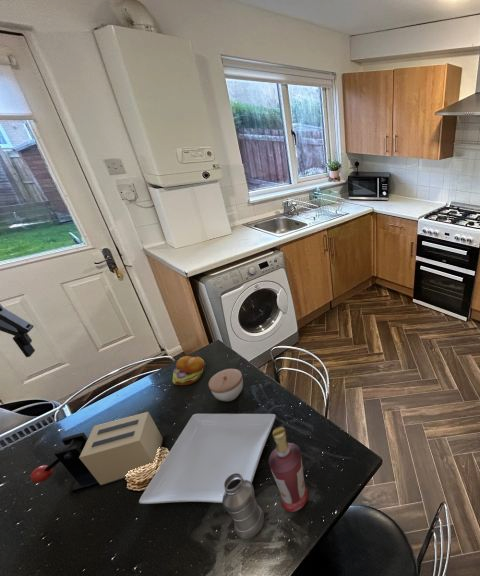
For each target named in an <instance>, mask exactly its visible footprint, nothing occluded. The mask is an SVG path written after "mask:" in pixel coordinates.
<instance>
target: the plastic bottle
mask: <svg viewBox="0 0 480 576" xmlns="http://www.w3.org/2000/svg"><path fill="white" fill-rule="evenodd" d="M224 488H225V492H224V494H223V500H222V503H221V504H222V507H223V508H224V510H225V511H226V512H227V513H228V514H229V515H230V517H231V518H232V520H233V524H234V531H235V533H236V536H237V537H239V538H240V539H242V540H249V539H251V538H254V537H255V536H256V535H257V534H258V533H259V532H260V531H261V530H262V528H263V527H264V526H263V525H264V523H265V512H264V510H263V509H262V507H260V505H259V504H258V502H257V501H256V496H255V495H256V494H255V489H254V485H253V482H252V483H251V482H250V481H248V480H246V479H243V478H242V475H241V474H239V473H234V474H231V475H230V476H229V477H228V478H227V479H226V480H225V482H224Z"/></svg>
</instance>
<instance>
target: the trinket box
mask: <svg viewBox="0 0 480 576" xmlns="http://www.w3.org/2000/svg"><path fill="white" fill-rule="evenodd" d="M242 374H243V373H242V372H241V370H239V369H236V368H226V369H223V370H220V371H218V372H216V374H214V375H212V376H211V378H210V379H209V381H208V388H209V390H210V392H211V394H212V396H213V397H214V398H215V399H217V400H218V401H221V402H231V401H234V400H235V399H237V398H238V397H239V395H241V393H242V391H243V388H244V380H243V379H244V378H243V375H242Z"/></svg>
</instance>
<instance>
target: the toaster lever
mask: <svg viewBox="0 0 480 576" xmlns="http://www.w3.org/2000/svg"><path fill="white" fill-rule="evenodd" d="M82 443H83V441H79V440H75V439H73V440H71V441H70V442H69V443H68V444H67V445H66V446H65V445H64V448H63V449H65V448H68V447H72V446H76V445H78V447H79V448H80V447H81V445H82ZM59 463H61V462H60V461H59V459H58V458H57V457H56V458H54V459H53V460H52V461H51V462H50V463H48V464H42V465H40V466H38V467H36V468H35V469H33V470H32V472H31V473H30V480H31V482H33V483H38V484H39V483H42V482H45V481H47V480H48V479H50V477H51V476H52V475H53V472H54V469H53V468H55V466H56V465H58V464H59Z"/></svg>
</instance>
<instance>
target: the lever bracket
mask: <svg viewBox="0 0 480 576" xmlns="http://www.w3.org/2000/svg"><path fill="white" fill-rule="evenodd" d="M88 438H89V437H88V436H87V435H86V433H85V432H80V433H76V434H73V435H68V436H65V437H62V439H61V442H62V443H63V444H64V448H65V446H66V445H67V444H68V443H69V442H70V441H71V440H73V439H75V440H79V441H83V443H82V445H81V447H80V448H79V447H78V445H76V446H72V447H68V448H65V449H64V448H61V449H58V450H55V452H54V456H55V457H56V458H58V459H59V461H60V462H59V463H61V464H62V466H63V467H64V468H65V469H66V470H67V472H69V474H70V475H71V476H72V477H73V478H74V479H75V481H74V483H73V485H72V488H71V489H70V490H71V493H77V492H80V491H84V490H87V489H90V488H94V487H96V486H100V484H99V482H98V481H97V480H96V479H95V477H94V476H93V475H92V473H91V472H90V471H89V470H88V468H87V467H86V466H85V465H84V463H83V462H82V461H81V459H80V458H79V457H80V455H81V453H82V450H83V448H84V446H85V444H86V442H87V440H88Z"/></svg>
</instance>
